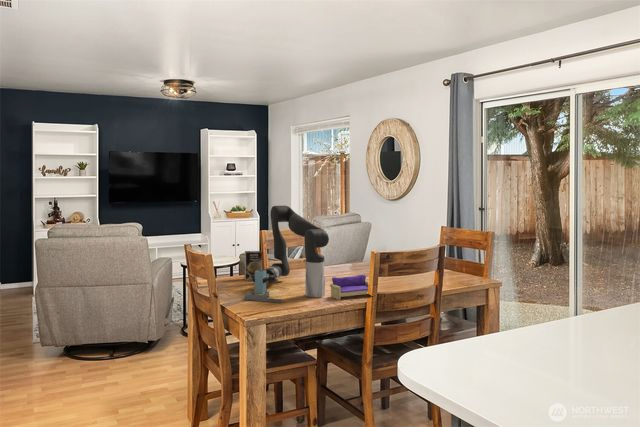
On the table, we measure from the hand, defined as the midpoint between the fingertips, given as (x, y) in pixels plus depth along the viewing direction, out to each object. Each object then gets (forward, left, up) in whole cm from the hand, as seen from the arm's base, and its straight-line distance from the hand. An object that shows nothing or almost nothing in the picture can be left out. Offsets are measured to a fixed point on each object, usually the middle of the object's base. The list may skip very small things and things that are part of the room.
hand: (258, 280), depth 274 cm
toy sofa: (-46, -9, -7) cm, 48 cm away
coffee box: (+16, -33, -7) cm, 37 cm away
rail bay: (-8, +10, -7) cm, 14 cm away
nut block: (0, -3, -7) cm, 7 cm away
